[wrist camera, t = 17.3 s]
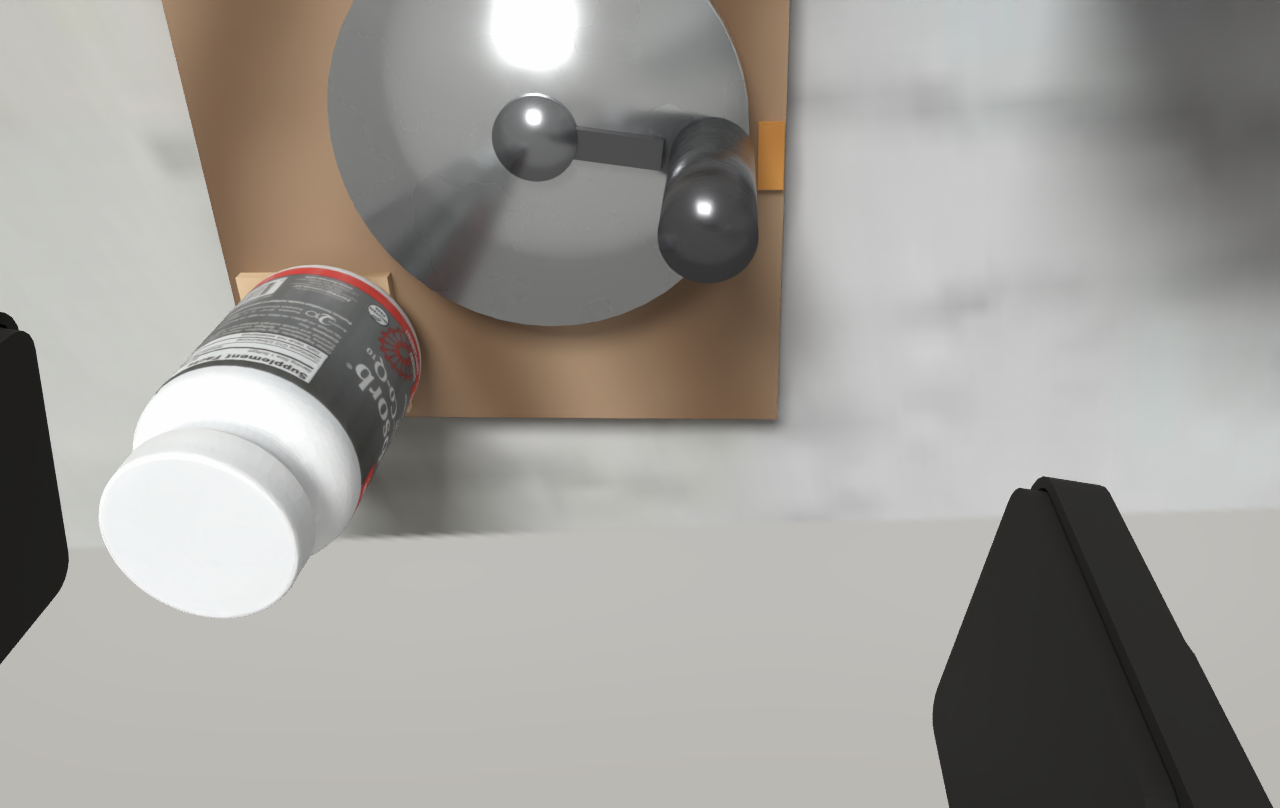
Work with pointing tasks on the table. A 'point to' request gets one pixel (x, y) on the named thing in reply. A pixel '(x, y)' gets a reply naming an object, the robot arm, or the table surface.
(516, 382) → the dial board
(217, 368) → the pill bottle
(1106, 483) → the table surface
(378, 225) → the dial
